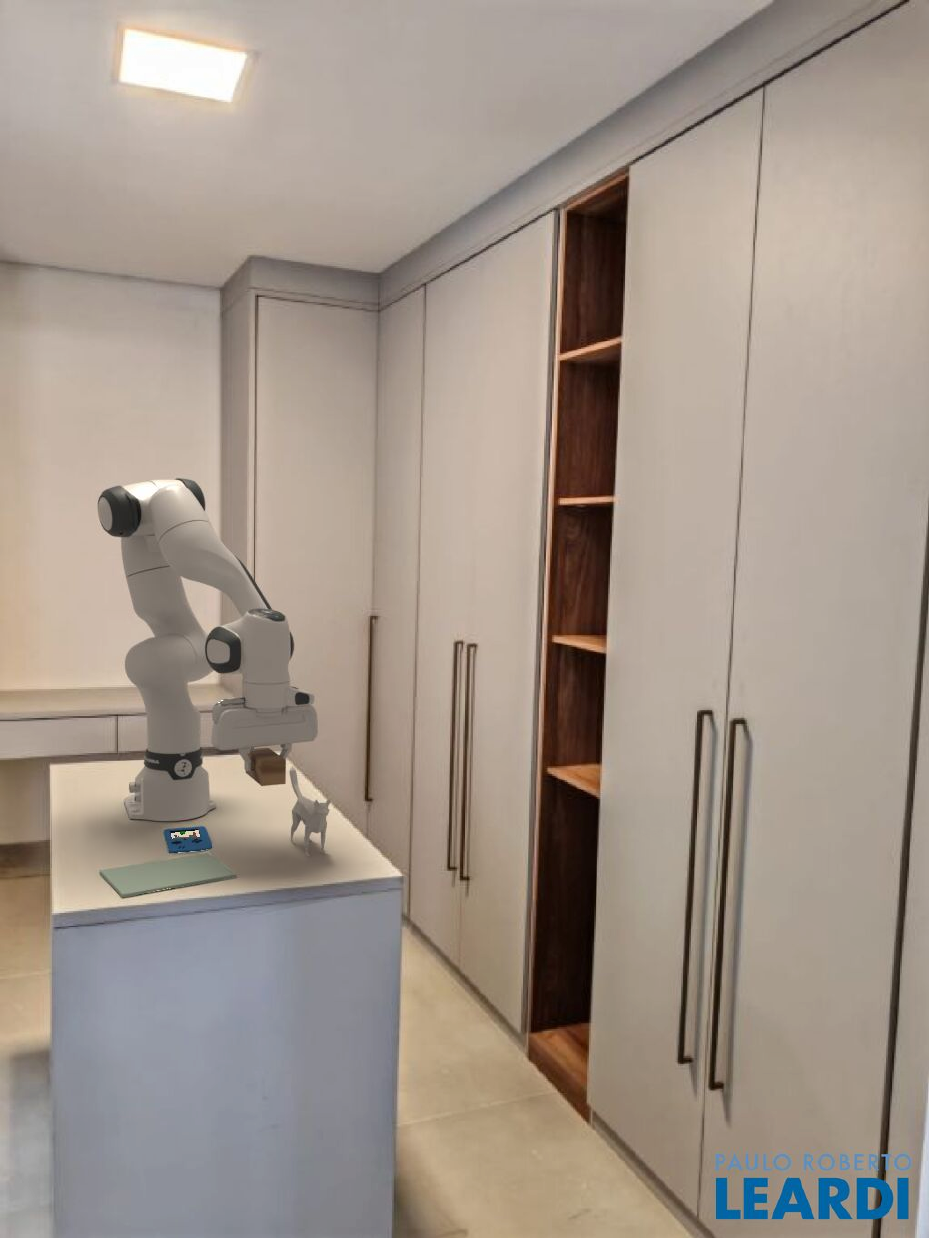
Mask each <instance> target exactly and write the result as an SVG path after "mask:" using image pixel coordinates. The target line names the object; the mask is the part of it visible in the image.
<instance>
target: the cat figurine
mask: <svg viewBox="0 0 929 1238" xmlns="http://www.w3.org/2000/svg"><path fill="white" fill-rule="evenodd" d="M289 778H290V782H291V783H290V784H291V787H292V789H293V792H294V794H295V796H296V797H297V801H296V803H295V804H294V806H293V807H292V810H291V815H292V816H291V817H292V824H291V827H290V828H291V829H290V843H291V844H292V845H295V841H293V840H294V839H293V837H294V833H295V832H296V831H297V829H298V827H299V825H300V823H301V822H302V823H303V825H304V837H303V838H304V839H303V841H304V855H305V856H307V857H310V856H311V855H310V854H309V852H308V850H309V843H312V842H313V840H312V839H310V837H311V834H312V833H314V834H318V833H319V834H320V844H321V846H320V847H321V854H323V855H326V854H327V853H326V851H325V843H326V837H327V836H326V832H327V826H328V821H327V816H328V815H329V813H330V809H329V806H330V804H331V802H332V801H331V800H330V799H329V798H327V799H326V801H325V802H319V801H318V799H316V800H315V801H314V800H311V799H310V798H307V797H305V796H304V795H303V794H302V792H301V790H300V787H299V782H298V781H299V780H298V773H297V770H296V768H294V766H292V765H291V768H290V769H289Z"/></svg>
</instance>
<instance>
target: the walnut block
mask: <svg viewBox="0 0 929 1238" xmlns="http://www.w3.org/2000/svg"><path fill="white" fill-rule="evenodd" d="M247 755H248V757H249V758H250V760H253V761H255V770H254V771H246V770H245V773H246V774H247V775H248V776H249V777H250V778H251V779H252V780H254V781H255V782H256V783H257V784H258V785H259V786H261V787H265V786H267V787H269V786H278V785H286V780H287V779H286V778H287V776H286V775H287V759H286V760H285V759H284V758H282V757H281V756H279V755H280V754H278V753H277V752H275V751H274V750H272V749H271V748H269V747H256V748H250V753H247Z"/></svg>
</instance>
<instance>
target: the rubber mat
mask: <svg viewBox="0 0 929 1238" xmlns="http://www.w3.org/2000/svg"><path fill="white" fill-rule="evenodd" d="M99 874H100V876H101V877H102V878H103V879H104V880H105V881H106V882H107V883H108V884H109V886H111V887H112V888H113V890H114V891H115V892H116V893H117V892H118V893H117V894H118V895H119V896H120V897H121V898H122V897H125V898H129V897H135V896H136V895H137V896H140V895H139V894H142V895H145V894H144V893H148V892H153V891H157V890H163V889H167V888H168V889H169V888H175V889H180V888H179V887H181V888H184V887H183V886H186V887H191V886H190V885H192V886H197V885H202V883H203V884H207V882H208V883H212V882H213V881H214V882H219V881H225V880H229V878H230V879H235V878H237V873H236V872H234V871H233V870H232V869H230V868H229V867H227V866H226V865H225V864H223V862H221V861H220V860H218V859H217V858H215V856H213V855H212V854H210V853H209V852H203V853H202V852H201V853H197V854H190V855H186V856H179V857H178V856H177V857H172V858H165V859H159V860H154V861H149V862H141V863H135V864H129V865H123V866H118V867H117V866H116V867H112V868H105V869H99ZM224 879H225V880H224ZM196 884H197V885H196ZM153 893H154V892H153ZM148 894H149V893H148Z"/></svg>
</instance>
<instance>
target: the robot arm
mask: <svg viewBox="0 0 929 1238" xmlns="http://www.w3.org/2000/svg"><path fill="white" fill-rule="evenodd" d="M198 484H199V483H197V482H196V481H195V480H192V479H188V478H180V477H179V478H178V477H177V478H175V479H151V480H150V479H149V480H146V481H142V482H136V483H131V484H125V485H116V486H113V487H109V488H106V489H105V490H103V491H102V492H101V494H100V496H99V497H98V501H97V515H98V519H99V522H100V525H101V527H102V529H103V530H104V532H106V533H107V534H108V535H110V536H111V537H116V538H120V548H121V557H122V558H121V559H122V565H123V570H124V575H125V578H126V579H125V580H126V583H127V587H128V590H129V595H130V599H131V603H132V606H133V611H134V612H135V614H136V615H137V617H138V618H140V619H141V620H142V621H144V622H145V623H146V625H147V626H148V627H149V629H150V631H151V632H152V634H153V637H149V638H146V639H144V640H142V641H140V642H139V643H136V644H134V645H133V646H132V647H130V649H129V650H128V651H127V654H126V656H125V659H124V669H125V674H126V675H127V678H128V679H129V681H130V682H131V683H132V684H133V685H134V686H135V687H136V688H137V690H138V691H139V692H140V695H141V698H142V701H143V703H144V709H145V714H146V726H147V727H146V728H147V729H146V731H147V732H146V733H147V735H146V737H147V741H146V742H147V748H146V749H145V753H144V756H143V759H144V761H143V765H144V767H143V768H142V769H141V771H140V772H139V773H138V774H137V775H136V777H135V779H134V781H132V782H129V784H128V791H129V793H130V794H133V795H129V796H126V797H124V800H123V803H124V805H125V809H126V811H127V814H128V817H129V819H132V820H148V821H149V820H150V821H157V822H175V821H176V822H177V821H186V820H192V819H195V818H199V817H202V816H205V815H206V814H207V813H208V812H210V810H214V809H216V808H217V802H215V801H212V800H211V795H210V790H211V789H210V775H209V772H208V771H207V770H206V769H205V768H204V767H203V766H202V765H203V764H204V762H203V760H204V759H203V758H204V752H203V747H202V746H201V731H202V729H201V721H202V718H201V717H202V716H201V712H200V710H199V709H198V708H197V707H196V706H195V704H193V701H192V700H191V696H190V693H189V689H188V688H189V687H188V686H189V685H188V684H189V683H193V682H197V681H200V680H203V679H204V678H205V677H207V676H209V675H210V674H212V673H213V672H216V673H218V674H221V675H222V674H223V675H239V674H242V679H241V680H242V682H241V685H242V686H241V697H237V698H230V699H228V698H224V699H221V700H219V701H218V702H216V703H215V704H214V705H213V707H212V712H211V713H212V720H213V721H212V722H213V724H212V729H211V745H212V746H213V747H214V748H215V749H217V750H218V751H231V750H238V753H239V755H240V757H241V758H242V760H243V761H244V766H243V767H244V771H245V772H246V771H254V770H255V761H253V760H250V758H249V757H248V755H247V753H250V749H253V748H262V747H268V746H269V747H270V746H279V745H280V748H282V749H281V751H280V754H278V755H279V756H281V757H282V758H284V759H285V760H286V761H287V758H288V756H289V754H290V753H291V751H292V749H293V748H292V747H293V744H299V743H308V742H314V741H315V740H316V739H317V737H318V736H319V735H318V734H319V733H318V732H319V728H318V727H319V726H318V714H317V709H316V707H314V706H313V704H314V703H315V695H314V693H311V692H309V691H307V690H304V689H300V688H298V687H296V686H291V677H290V672H289V663H290V661H291V659H292V657H293V655H294V651H295V641H294V636H293V634H292V632H291V630H290V625H289V620H288V618H287V617H286V615H285V614H284V613H282V612H280V611H278V610H274V609H273V608H272V606H271V605H270V603H269V602H268V599H267V598H266V597H265V595H264V594H263V592H262V591H261V589H260V588H259V586H258V584H257V582H256V581H255V579H254V578H253V576H252V575H251V573H250V571H249V570H248V569H247V567H246V566H245V564H244V563H243V562H242V561H241V560H240V559H239V558H238V557H237V556H236V555H235V554H233V553H232V552H231V551H230V550H229V548H227V546H226V545H225V543H224V542H223V541H222V540H221V539H220V537H219V536H218V534H217V533H216V531H215V529H214V528H213V525H212V523H211V520H210V519H209V517H208V515H207V513H206V499H205V495H204V492H203V490H202V489H201V486H199V485H198ZM182 578H184V579H186V580H190V581H193V582H196V583H201V584H203V585H206V586H209V587H212V588H214V589H217V590H218V591H221V592H222V593H223V594H225V595H226V596H227V597H228V598H229V599H230V600H231V601H232V603H233V605H234V607H235V609H236V610H237V611H238V613H239V614H240V616H241V617H240V618H239V619H237V620H235V621H232V622H230V623H226V624H223V625H219V626H216V627H215V626H214V628H213V629H211V631H210V632H209V633H207V632H206V630H204V628H203V627H202V625H201V624H200V622H199V621H198V619H197V617H196V614H195V613H194V611H193V609H192V607H191V605H190V603H189V600H188V598H187V597H188V596H187V593H186V591H185V587H184V584H183V580H182Z"/></svg>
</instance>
